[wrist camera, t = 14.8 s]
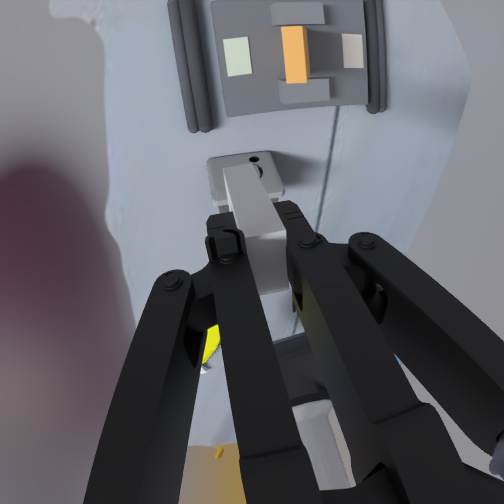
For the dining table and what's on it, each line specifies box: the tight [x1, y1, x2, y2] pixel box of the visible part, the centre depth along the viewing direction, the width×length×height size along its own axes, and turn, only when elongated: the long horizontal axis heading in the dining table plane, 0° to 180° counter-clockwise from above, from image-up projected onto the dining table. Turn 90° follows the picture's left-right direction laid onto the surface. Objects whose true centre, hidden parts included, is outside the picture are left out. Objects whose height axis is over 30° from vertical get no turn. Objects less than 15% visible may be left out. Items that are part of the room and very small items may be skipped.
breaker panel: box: [210, 0, 368, 118], centre depth 35 cm, size 16×20×5 cm
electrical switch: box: [206, 151, 285, 213], centre depth 44 cm, size 9×5×9 cm, turn 94°
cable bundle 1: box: [167, 0, 213, 133], centre depth 36 cm, size 20×3×2 cm, turn 7°
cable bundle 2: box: [363, 0, 386, 114], centre depth 38 cm, size 20×3×2 cm, turn 7°
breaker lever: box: [281, 26, 310, 83], centre depth 31 cm, size 7×2×11 cm, turn 7°
